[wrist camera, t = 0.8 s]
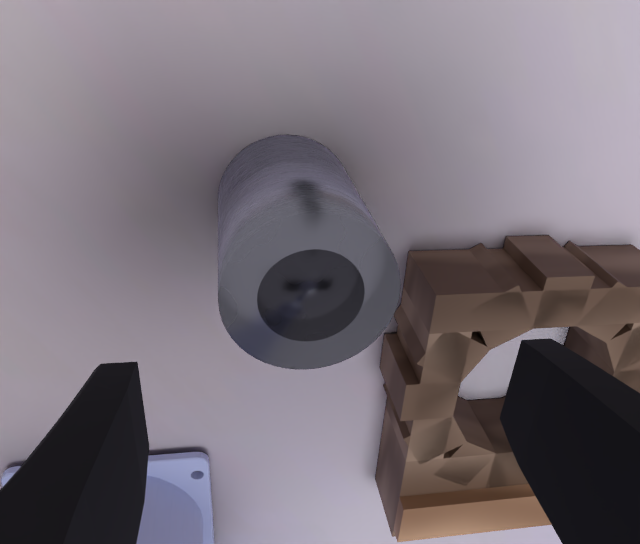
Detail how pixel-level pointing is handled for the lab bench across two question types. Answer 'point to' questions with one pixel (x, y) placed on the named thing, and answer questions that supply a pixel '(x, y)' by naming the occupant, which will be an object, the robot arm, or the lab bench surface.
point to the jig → (466, 352)
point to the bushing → (300, 257)
